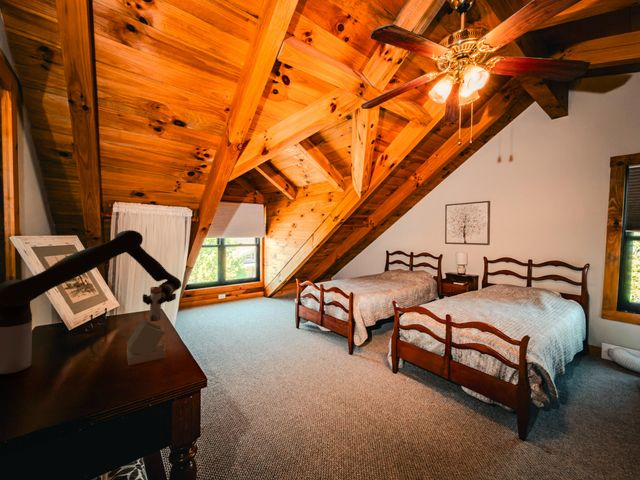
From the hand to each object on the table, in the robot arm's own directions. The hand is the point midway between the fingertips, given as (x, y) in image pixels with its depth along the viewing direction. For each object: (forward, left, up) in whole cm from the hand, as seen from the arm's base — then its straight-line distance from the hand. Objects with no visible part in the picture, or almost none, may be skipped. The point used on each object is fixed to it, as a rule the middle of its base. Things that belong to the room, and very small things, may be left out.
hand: (154, 302), depth 118 cm
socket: (-2, +3, -24) cm, 24 cm away
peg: (+1, +3, -8) cm, 9 cm away
